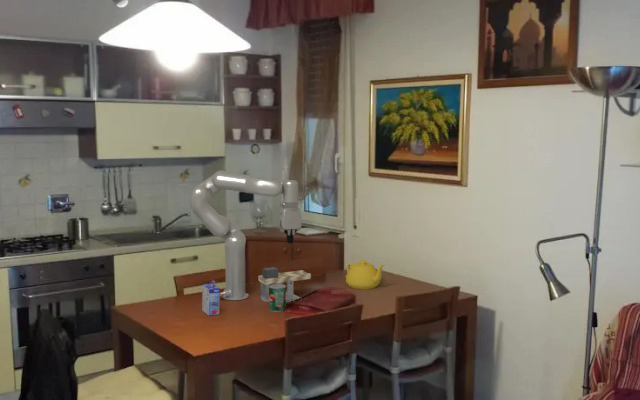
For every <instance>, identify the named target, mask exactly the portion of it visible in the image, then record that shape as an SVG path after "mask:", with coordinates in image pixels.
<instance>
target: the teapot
mask: <svg viewBox="0 0 640 400" xmlns="http://www.w3.org/2000/svg"><path fill="white" fill-rule="evenodd" d="M384 266H385V264H381V265H379V266H378V268H376V267H375V265H374V264H373V263H369V262H367V260H366V259H361V260H359V262H355V263H353V262H351V263H348V264H347V265H346V272H347V274H346V275H345V282H346V284H347V285H348V286H349V288H351V289H355V290H372V289H375V288H377V287H378V285H380V282H381V279H382V269H383V267H384Z"/></svg>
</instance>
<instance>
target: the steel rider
mask: <svg viewBox="0 0 640 400" xmlns="http://www.w3.org/2000/svg"><path fill="white" fill-rule="evenodd" d="M261 272H262V274H261V275H263V278H265V279H270V278H277V277H278V273H279V268H277V267H275V266H271V267H263V268H262V271H261Z"/></svg>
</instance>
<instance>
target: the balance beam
mask: <svg viewBox="0 0 640 400" xmlns="http://www.w3.org/2000/svg"><path fill="white" fill-rule="evenodd" d="M257 278H258V282H260V283H261V282H262V283H264V284H266V285H267V284H269V285H272V284H276V283H287V280H293V282H297V281H304V280H310V279H312V274H311V273H309V272H306V271H304V270H302V269H301V270H295V271H285V272H278V277H277V278H270V279H265V278H263V274H261V275H258V277H257Z"/></svg>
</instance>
